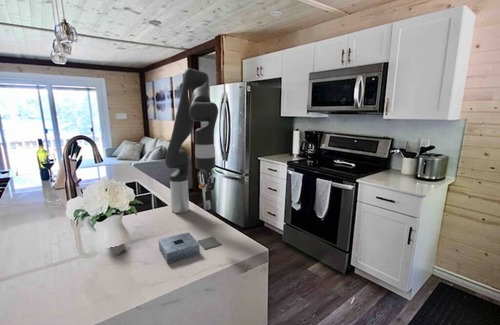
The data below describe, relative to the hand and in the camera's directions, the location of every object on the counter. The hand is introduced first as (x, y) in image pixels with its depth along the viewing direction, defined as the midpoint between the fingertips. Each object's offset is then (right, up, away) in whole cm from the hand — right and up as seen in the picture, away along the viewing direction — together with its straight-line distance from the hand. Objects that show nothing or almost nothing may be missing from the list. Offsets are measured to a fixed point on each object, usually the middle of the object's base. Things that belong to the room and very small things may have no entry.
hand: (206, 198), depth 103 cm
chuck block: (-10, -20, -3) cm, 22 cm away
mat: (0, -19, +4) cm, 19 cm away
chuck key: (0, -4, +1) cm, 4 cm away
